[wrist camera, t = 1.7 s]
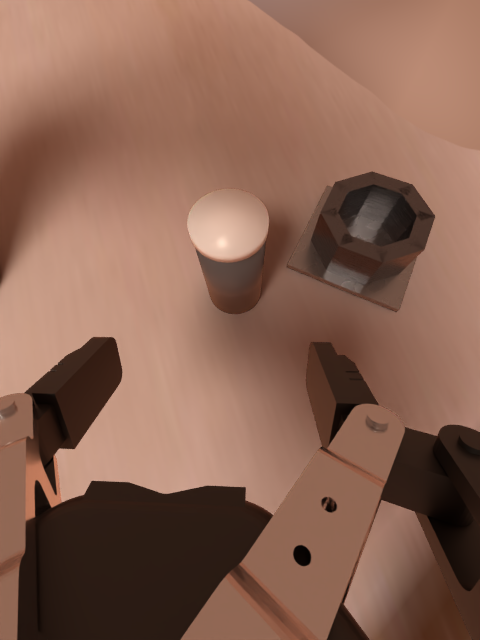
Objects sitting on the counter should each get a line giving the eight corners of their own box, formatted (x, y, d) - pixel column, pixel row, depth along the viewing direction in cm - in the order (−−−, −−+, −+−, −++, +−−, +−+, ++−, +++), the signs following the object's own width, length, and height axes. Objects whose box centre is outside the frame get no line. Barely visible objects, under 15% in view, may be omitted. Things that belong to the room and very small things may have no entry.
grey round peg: (198, 301, 27) (171, 236, 17) (224, 259, 28) (211, 178, 19) (247, 323, 26) (246, 268, 16) (270, 278, 27) (282, 204, 18)
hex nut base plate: (286, 266, 28) (293, 239, 23) (326, 189, 31) (338, 152, 27) (396, 311, 26) (425, 290, 22) (426, 223, 29) (456, 190, 25)
